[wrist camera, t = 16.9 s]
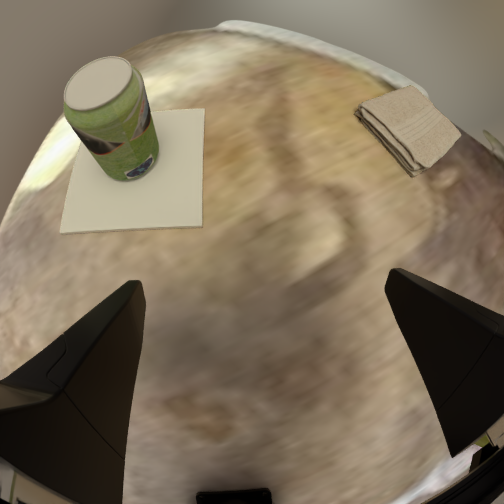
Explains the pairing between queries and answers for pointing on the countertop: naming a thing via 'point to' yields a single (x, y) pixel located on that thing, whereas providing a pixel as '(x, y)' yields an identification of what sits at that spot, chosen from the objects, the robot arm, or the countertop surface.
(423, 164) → the washcloth
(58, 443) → the robot arm
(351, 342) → the countertop surface
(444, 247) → the countertop surface
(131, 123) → the beverage can
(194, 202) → the cream mat
